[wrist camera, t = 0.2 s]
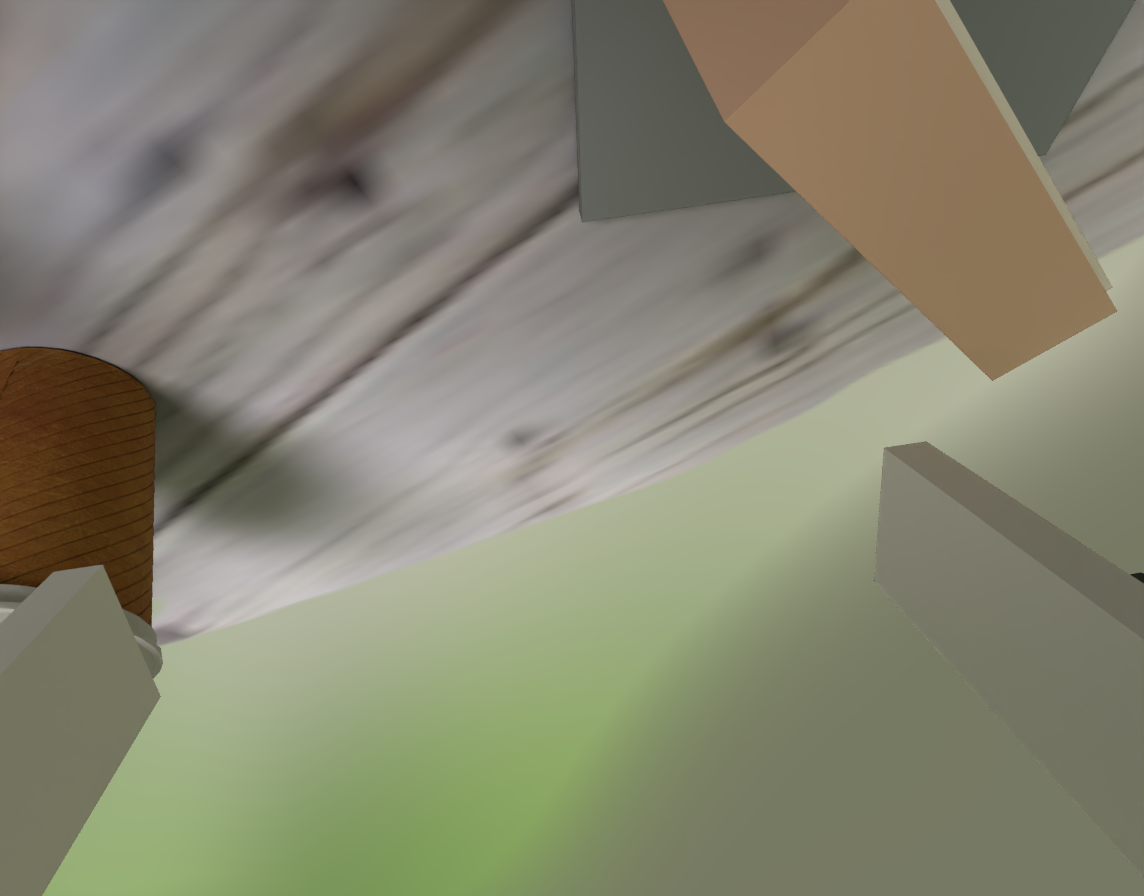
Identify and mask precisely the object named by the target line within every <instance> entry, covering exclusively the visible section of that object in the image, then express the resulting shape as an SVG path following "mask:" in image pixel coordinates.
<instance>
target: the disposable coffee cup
mask: <svg viewBox="0 0 1144 896" xmlns="http://www.w3.org/2000/svg"><path fill="white" fill-rule="evenodd" d="M155 427H156V408H155V403H154V401H153V399H152V397H151V395H150V394H149V393H148V391H147V390H146V389H145V388H144V387H143V386H142V385H141V384H140V383H139V382H138V381H136V380H135V379H134V378H133V377H131V376H130V375H128V374H127V373H125V372H123V371H121V370H120V369H118V368H116V367H114V366H112V365H109V364H107V363H104V362H102V361H100V360H97V359H95V358H91V357H88V356H84V355H81V354H77V353H74V352H68V351H63V350H57V349H46V348H16V349H10V350H3V351H0V623H1V622H2V621H3V620H5V619H6V618H7V617H8V616H9V615H10V614H11V613H12V612H13V611H14V610H15V609H16V608H17V607H18V606H19V605H20V604H21V603H22V602H23V601H24V600H25V599H26V598H27V597H28V596H29V595H30V594H31V593H32V592H33V591H34V590H35V589H36V588H37V587H38V586H39V585H41V584H42V583H43V582H44V581H45V580H46V579H47V578H48V577H49V576H50V575H51V574H52V573H53V572H56V571H62V570H69V569H76V568H83V567H89V566H96V565H103V566H104V569H105V571H106V573H107V575H108V578H109V580H110V582H111V585H112V587H113V589H114V591H115V594H116V596H117V598H118V601H119V603H120V605H121V607H122V610H123V612H124V614H125V616H126V619H127V621H128V623H129V626H130V628H131V630H132V632H133V635H134V637H135V639H136V641H137V644H138V646H139V648H140V651H141V653H142V655H143V657H144V660H145V662H146V664H147V666H148V669H149V671H150V673H151V676H152V678H154V677H155V676H156V675H157V674H158V673H159V672H160V670H161V667H162V664H163V662H162V654H161V648H160V647H159V646H158V645H157V639H156V633H155V632H154V630H153V628H152V582H153V567H152V566H153V550H154V549H153V535H154V527H153V522H154V492H155V489H154V480H155V473H154V467H155Z"/></svg>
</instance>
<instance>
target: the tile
mask: <svg viewBox="0 0 1144 896" xmlns="http://www.w3.org/2000/svg"><path fill="white" fill-rule="evenodd" d="M663 2H664V4H665V6H666V8H667V10H668V12H669V14H670V16H671V18H672V20H673V22H674V24H675V26H676V27H677V29H678V31H679V33H680V35H681V37H682V39H683V41H684V43H685V45H686V47H687V49H688V51H689V53H690V55H691V57H692V59H693V61H694V63H695V65H696V67H697V69H698V71H699V73H700V75H701V77H702V79H703V81H704V83H705V85H706V87H707V89H708V91H709V93H710V95H711V97H712V99H713V101H714V103H715V105H716V106H717V108H718V110H719V112H720V114H721V116H722V118H723V120H724V122H725V123H726V124H727V125H728V126H729V127H730V128H731V129H732V130H733V131H734V132H735V133H736V134H737V135H738V136H739V137H741V138H742V139H743V140H744V141H745V142H746V143H747V144H748V145H749V146H750V147H751V148H752V149H753V150H754V151H755V152H756V153H757V154H758V155H759V156H760V157H761V158H762V159H763V160H764V161H765V162H766V163H767V164H768V165H770V166H771V167H772V168H773V169H774V170H775V171H776V172H777V173H778V174H779V175H780V176H781V177H782V178H783V179H784V180H785V181H786V182H787V183H788V184H789V185H790V186H791V187H792V188H793V189H794V190H795V191H796V192H797V193H798V194H800V195H801V196H802V197H803V198H804V199H805V200H806V201H807V202H808V203H809V204H810V205H811V206H812V207H813V208H814V209H815V210H816V211H817V212H818V213H819V214H820V215H821V216H822V217H823V218H824V219H825V220H826V221H827V222H829V223H830V224H831V225H832V226H833V227H834V228H835V229H836V230H837V231H838V232H839V233H840V234H841V235H842V236H843V237H844V238H845V239H846V240H847V241H848V242H849V243H850V244H851V245H852V246H853V247H854V248H855V249H856V250H858V251H859V252H860V253H861V254H862V255H863V256H864V257H865V258H866V259H867V260H868V261H869V262H870V263H871V264H872V265H873V266H874V267H875V268H876V269H877V270H878V271H879V272H880V273H881V274H882V275H883V276H884V277H885V278H886V279H888V280H889V281H890V282H891V283H892V284H893V285H894V286H895V287H896V288H897V289H898V290H899V291H900V292H901V293H902V294H903V295H904V296H905V297H906V298H907V299H908V300H909V301H910V302H911V303H912V304H913V305H914V306H915V307H917V308H918V309H919V310H920V311H921V312H922V313H923V314H924V315H925V316H926V317H927V318H928V319H929V320H930V321H931V322H932V323H933V324H934V325H935V326H936V327H937V328H938V329H939V330H940V331H941V332H942V333H943V334H944V335H946V336H947V337H948V338H949V339H950V340H951V341H952V342H953V343H954V344H955V345H956V346H957V347H958V348H959V349H960V350H961V351H962V352H963V353H964V354H965V355H966V356H967V357H968V358H969V359H970V360H971V361H973V362H974V364H976V365H977V366H978V367H979V368H980V369H981V370H982V371H983V372H984V373H985V374H986V375H987V376H988V377H989V378H990V379H991V380H992V381H993V380H995V379H996V378H998V377H1000V376H1002V375H1004V374H1005V373H1007V372H1009V371H1011V370H1012V369H1014V368H1016V367H1018V366H1020V365H1021V364H1023V363H1025V362H1027V361H1029V360H1031V359H1032V358H1034V357H1036V356H1038V355H1040V354H1041V353H1043V352H1045V351H1047V350H1048V349H1050V348H1052V347H1054V346H1056V345H1057V344H1059V343H1061V342H1063V341H1065V340H1066V339H1068V338H1070V337H1072V336H1074V335H1075V334H1077V333H1079V332H1081V331H1083V330H1084V329H1086V328H1088V327H1090V326H1091V325H1093V324H1095V323H1097V322H1099V321H1100V320H1102V319H1104V318H1106V317H1108V316H1109V315H1111V314H1113V313H1115V312H1117V310H1116V308H1115V306H1114V305H1113V303H1112V301H1111V300H1110V298H1109V296H1108V294H1107V293H1106V291H1107V290H1109V289H1111V288H1112V285H1111V284H1110V282H1109V280H1108V278H1107V277H1106V275H1105V273H1104V271H1103V269H1102V268H1101V266H1100V264H1099V262H1098V261H1097V259H1096V257H1095V255H1094V254H1093V252H1092V250H1091V248H1090V247H1089V245H1088V243H1087V241H1086V239H1085V238H1084V236H1083V234H1082V232H1081V231H1080V229H1079V227H1078V225H1077V224H1076V222H1075V220H1074V218H1073V217H1072V215H1071V213H1070V211H1069V209H1068V208H1067V206H1066V204H1065V202H1064V201H1063V199H1062V197H1061V195H1060V194H1059V192H1058V190H1057V188H1056V187H1055V185H1054V183H1053V181H1052V180H1051V178H1050V176H1049V174H1048V172H1047V171H1046V169H1045V167H1044V165H1043V164H1042V162H1041V160H1040V158H1039V157H1038V155H1037V153H1036V151H1035V150H1034V148H1033V146H1032V144H1031V142H1030V141H1029V139H1028V137H1027V135H1026V134H1025V132H1024V130H1023V128H1022V127H1021V125H1020V123H1019V121H1018V120H1017V118H1016V116H1015V114H1014V112H1013V111H1012V109H1011V107H1010V105H1009V104H1008V102H1007V100H1006V98H1005V97H1004V95H1003V93H1002V91H1001V90H1000V88H999V86H998V84H997V82H996V81H995V79H994V77H993V75H992V74H991V72H990V70H989V68H988V67H987V65H986V63H985V61H984V60H983V58H982V56H981V54H980V52H979V51H978V49H977V47H976V45H975V44H974V42H973V40H972V38H971V37H970V35H969V33H968V31H967V30H966V28H965V26H964V24H963V23H962V21H961V19H960V17H959V15H958V14H957V12H956V10H955V8H954V7H953V5H952V3H951V1H950V0H663Z"/></svg>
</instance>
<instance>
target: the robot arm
mask: <svg viewBox="0 0 1144 896" xmlns="http://www.w3.org/2000/svg"><path fill="white" fill-rule="evenodd" d="M874 582H875V583H876V584H877V585H878V586H879V587H880V588H881V590H882V591H883V592H884V593H885V594H886V595H887V596H888V597H889V598H890V599H891V601H892V602H893V603H894V604H895V605H896V606H897V607H898V608H899V609H900V610H901V611H902V613H903V614H905V616H906V617H907V618H908V619H909V620H910V621H911V623H912V624H913V625H914V626H915V627H916V628H917V629H918V630H919V631H920V632H921V634H922V635H923V636H924V637H925V638H926V639H927V640H928V641H929V642H930V643H931V645H932V646H933V647H934V648H935V649H936V650H937V651H938V652H939V653H940V654H941V655H942V657H943V658H944V659H945V660H946V661H947V662H948V663H949V664H950V665H951V667H952V668H953V669H954V670H955V671H956V672H957V673H958V674H959V675H960V676H961V677H962V679H963V680H964V681H965V682H966V683H967V684H968V685H969V686H970V687H971V688H972V690H973V691H974V692H975V693H976V694H977V695H978V696H979V697H980V698H981V700H982V701H983V702H984V703H985V704H986V705H987V706H988V707H989V708H990V709H991V711H992V712H993V713H994V714H995V715H996V716H997V717H998V718H999V719H1000V720H1001V722H1002V723H1003V724H1004V725H1005V726H1006V727H1007V728H1008V729H1009V730H1010V731H1011V733H1013V735H1014V736H1015V737H1016V738H1017V739H1018V740H1019V741H1020V742H1021V744H1022V745H1023V746H1024V747H1025V748H1026V749H1027V750H1028V751H1029V752H1030V753H1031V755H1032V756H1033V757H1034V758H1035V759H1036V760H1037V761H1038V762H1039V763H1040V764H1041V765H1042V767H1043V768H1044V769H1045V770H1046V771H1047V772H1048V773H1049V774H1050V775H1051V777H1053V779H1054V780H1055V781H1056V782H1057V783H1058V784H1059V785H1060V786H1061V788H1062V789H1063V790H1064V791H1065V792H1066V793H1067V794H1068V795H1069V796H1070V797H1071V799H1072V800H1073V801H1074V802H1075V803H1076V804H1077V805H1078V806H1079V807H1080V808H1081V810H1083V812H1084V813H1085V814H1086V815H1087V816H1088V817H1089V818H1090V819H1091V821H1092V822H1093V823H1094V824H1095V825H1096V826H1097V827H1098V828H1099V829H1100V830H1101V831H1102V833H1103V834H1104V835H1105V836H1106V837H1107V838H1108V839H1109V840H1110V841H1111V843H1112V844H1113V845H1114V846H1115V847H1116V848H1117V849H1118V850H1119V851H1120V852H1121V854H1122V855H1123V856H1124V857H1125V858H1126V859H1127V860H1128V861H1129V862H1130V863H1131V865H1132V866H1133V867H1134V868H1135V869H1136V870H1137V871H1138V872H1139V873H1140V874H1141V876H1142V877H1143V878H1144V574H1143V573H1135V574H1128V573H1127V572H1125V571H1124V570H1122V569H1121V568H1119V567H1118V566H1116V565H1115V564H1113V563H1111V562H1110V561H1108V560H1107V559H1105V558H1104V557H1102V556H1101V555H1099V554H1098V553H1096V552H1095V551H1093V550H1092V549H1090V548H1089V547H1087V546H1085V545H1084V544H1082V543H1081V542H1079V541H1078V540H1076V539H1075V538H1073V537H1072V536H1070V535H1069V534H1067V533H1065V532H1064V531H1062V530H1061V529H1059V528H1058V527H1056V526H1055V525H1053V524H1052V523H1050V522H1049V521H1047V520H1046V519H1044V518H1043V517H1041V516H1040V515H1038V514H1036V513H1035V512H1033V511H1032V510H1030V509H1029V508H1027V507H1026V506H1024V505H1023V504H1021V503H1020V502H1018V501H1017V500H1015V499H1014V498H1012V497H1010V496H1009V495H1007V494H1006V493H1004V492H1003V491H1001V490H1000V489H998V488H997V487H995V486H993V485H992V484H990V483H989V482H987V481H986V480H984V479H983V478H981V477H980V476H978V475H977V474H975V473H974V472H972V471H970V470H969V469H967V468H966V467H965V466H963V465H961V464H960V463H958V462H957V461H955V460H954V459H952V458H951V457H949V456H948V455H946V454H945V453H943V452H942V451H940V450H938V449H937V448H935V447H934V446H932V445H931V444H929V443H928V442H921V443H913V444H906V445H900V446H893V447H887V448H884V454H883V467H882V481H881V494H880V507H879V521H878V534H877V548H876V560H875V573H874ZM160 697H161V696H160V694H159V692H158V689H157V687H156V685H155V683H154V680H153V678H152V676H151V673H150V671H149V669H148V666H147V664H146V662H145V660H144V657H143V655H142V653H141V651H140V648H139V646H138V644H137V641H136V639H135V637H134V635H133V632H132V630H131V628H130V626H129V623H128V621H127V619H126V616H125V614H124V612H123V610H122V607H121V605H120V603H119V601H118V598H117V596H116V594H115V591H114V589H113V587H112V585H111V582H110V580H109V578H108V575H107V573H106V571H105V569H104V566H103V565H96V566H89V567H83V568H76V569H69V570H62V571H56V572H53V573H52V574H51V575H50V576H49V577H48V578H47V579H46V580H45V581H44V582H43V583H42V584H41V585H39V586H38V587H37V588H36V589H35V590H34V591H33V592H32V593H31V594H30V595H29V596H28V597H27V598H26V599H25V600H24V601H23V602H22V603H21V604H20V605H19V606H18V607H17V608H16V609H15V610H14V611H13V612H12V613H11V614H10V615H9V616H8V617H7V618H6V619H5V620H3V621H2V622H1V623H0V896H42V895H43V893H44V891H45V890H46V888H47V886H48V885H49V883H50V881H51V880H52V878H53V876H54V875H55V873H56V871H57V869H58V868H59V866H60V865H61V863H62V861H63V859H64V858H65V856H66V855H67V853H68V851H69V849H70V848H71V846H72V844H73V843H74V841H75V839H76V838H77V836H78V834H79V833H80V831H81V829H82V828H83V826H84V824H85V823H86V821H87V819H88V818H89V816H90V814H91V812H92V811H93V809H94V807H95V806H96V804H97V802H98V801H99V799H100V797H101V796H102V794H103V792H104V791H105V789H106V787H107V786H108V784H109V782H110V781H111V779H112V777H113V776H114V774H115V772H116V771H117V769H118V767H119V766H120V764H121V762H122V760H123V759H124V757H125V755H126V753H127V752H128V750H129V749H130V747H131V745H132V744H133V742H134V740H135V739H136V737H137V735H138V734H139V732H140V730H141V729H142V727H143V725H144V724H145V722H146V720H147V719H148V717H149V715H150V714H151V712H152V710H153V708H154V707H155V705H156V703H157V702H158V700H159V698H160Z"/></svg>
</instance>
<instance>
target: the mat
mask: <svg viewBox="0 0 1144 896" xmlns="http://www.w3.org/2000/svg"><path fill="white" fill-rule="evenodd" d="M950 1H951V3H952V5H953V7H954V8H955V10H956V12H957V14H958V15H959V17H960V19H961V21H962V23H963V24H964V26H965V28H966V30H967V31H968V33H969V35H970V37H971V38H972V40H973V42H974V44H975V45H976V47H977V49H978V51H979V52H980V54H981V56H982V58H983V60H984V61H985V63H986V65H987V67H988V68H989V70H990V72H991V74H992V75H993V77H994V79H995V81H996V82H997V84H998V86H999V88H1000V90H1001V91H1002V93H1003V95H1004V97H1005V98H1006V100H1007V102H1008V104H1009V105H1010V107H1011V109H1012V111H1013V112H1014V114H1015V116H1016V118H1017V120H1018V121H1019V123H1020V125H1021V127H1022V128H1023V130H1024V132H1025V134H1026V135H1027V137H1028V139H1029V141H1030V142H1031V144H1032V146H1033V148H1034V150H1035V151H1036V153H1037V155H1038V156H1043V155H1046V153H1047V151H1048V150H1049V148H1050V146H1051V144H1052V143H1053V141H1054V139H1055V138H1056V136H1057V134H1058V132H1059V131H1060V129H1061V127H1062V126H1063V124H1064V122H1065V120H1066V119H1067V117H1068V115H1069V114H1070V112H1071V110H1072V108H1073V107H1074V105H1075V103H1076V102H1077V100H1078V98H1079V97H1080V95H1081V93H1082V91H1083V90H1084V88H1085V86H1086V85H1087V83H1088V81H1089V79H1090V78H1091V76H1092V74H1093V73H1094V71H1095V69H1096V67H1097V66H1098V64H1099V62H1100V61H1101V59H1102V57H1103V55H1104V54H1105V52H1106V50H1107V49H1108V47H1109V45H1110V43H1111V42H1112V40H1113V38H1114V37H1115V35H1116V33H1117V31H1118V30H1119V28H1120V26H1121V25H1122V23H1123V21H1124V19H1125V18H1126V16H1127V14H1128V13H1129V11H1130V9H1131V7H1132V6H1133V4H1134V2H1135V1H1136V0H950ZM572 25H573V52H574V79H575V106H576V134H577V161H578V188H579V212H580V216H581V219H582V222H588V221H595V220H602V219H609V218H616V217H623V216H630V215H637V214H643V213H650V212H657V211H664V210H671V209H678V208H685V207H692V206H699V205H705V204H712V203H719V202H726V201H733V200H740V199H747V198H754V197H760V196H767V195H774V194H781V193H788V192H795V190H794V189H793V188H792V187H791V186H790V185H789V184H788V183H787V182H786V181H785V180H784V179H783V178H782V177H781V176H780V175H779V174H778V173H777V172H776V171H775V170H774V169H773V168H772V167H771V166H770V165H768V164H767V163H766V162H765V161H764V160H763V159H762V158H761V157H760V156H759V155H758V154H757V153H756V152H755V151H754V150H753V149H752V148H751V147H750V146H749V145H748V144H747V143H746V142H745V141H744V140H743V139H742V138H741V137H739V136H738V135H737V134H736V133H735V132H734V131H733V130H732V129H731V128H730V127H729V126H728V125H727V124H726V123H725V122H724V120H723V118H722V116H721V114H720V112H719V110H718V108H717V106H716V105H715V103H714V101H713V99H712V97H711V95H710V93H709V91H708V89H707V87H706V85H705V83H704V81H703V79H702V77H701V75H700V73H699V71H698V69H697V67H696V65H695V63H694V61H693V59H692V57H691V55H690V53H689V51H688V49H687V47H686V45H685V43H684V41H683V39H682V37H681V35H680V33H679V31H678V29H677V27H676V26H675V24H674V22H673V20H672V18H671V16H670V14H669V12H668V10H667V8H666V6H665V4H664V2H663V0H572Z"/></svg>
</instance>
